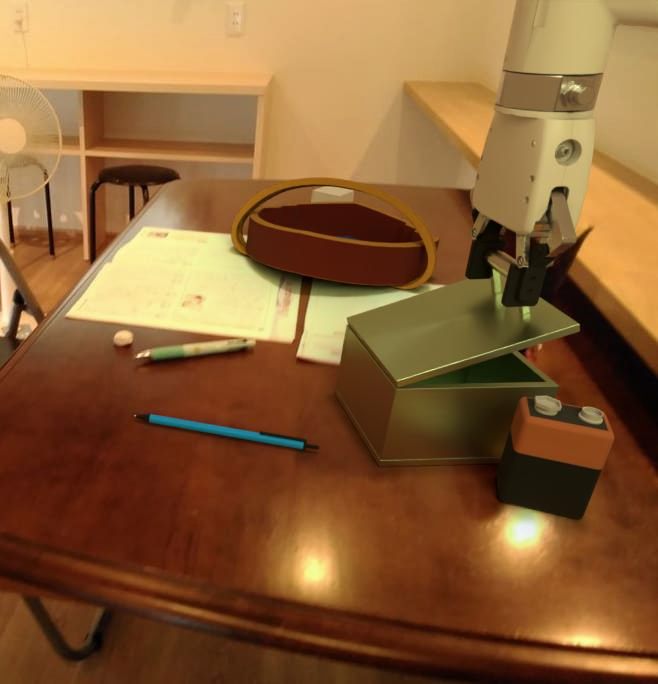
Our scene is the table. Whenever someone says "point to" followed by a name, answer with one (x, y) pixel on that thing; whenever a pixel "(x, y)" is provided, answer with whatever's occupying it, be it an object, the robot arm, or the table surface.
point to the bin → (436, 408)
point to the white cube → (332, 194)
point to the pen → (230, 432)
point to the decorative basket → (338, 237)
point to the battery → (553, 456)
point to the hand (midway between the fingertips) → (499, 289)
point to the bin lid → (456, 326)
